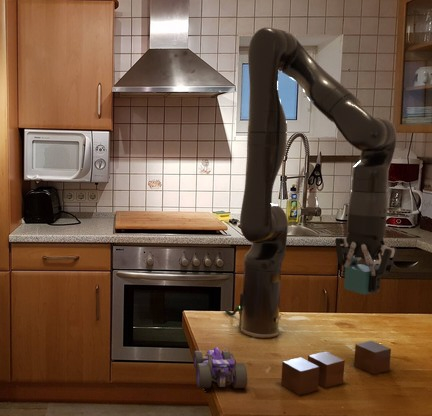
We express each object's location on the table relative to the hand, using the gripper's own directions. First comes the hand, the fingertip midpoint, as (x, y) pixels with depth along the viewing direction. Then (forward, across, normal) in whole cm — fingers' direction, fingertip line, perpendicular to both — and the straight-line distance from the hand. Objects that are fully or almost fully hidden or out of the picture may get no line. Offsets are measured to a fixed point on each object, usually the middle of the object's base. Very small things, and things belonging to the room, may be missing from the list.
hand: (361, 288), depth 115 cm
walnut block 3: (+17, +3, +1) cm, 18 cm away
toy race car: (+18, -9, -32) cm, 38 cm away
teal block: (0, 0, 0) cm, 0 cm away
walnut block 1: (+17, +3, -20) cm, 26 cm away
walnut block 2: (+17, +3, -13) cm, 22 cm away
